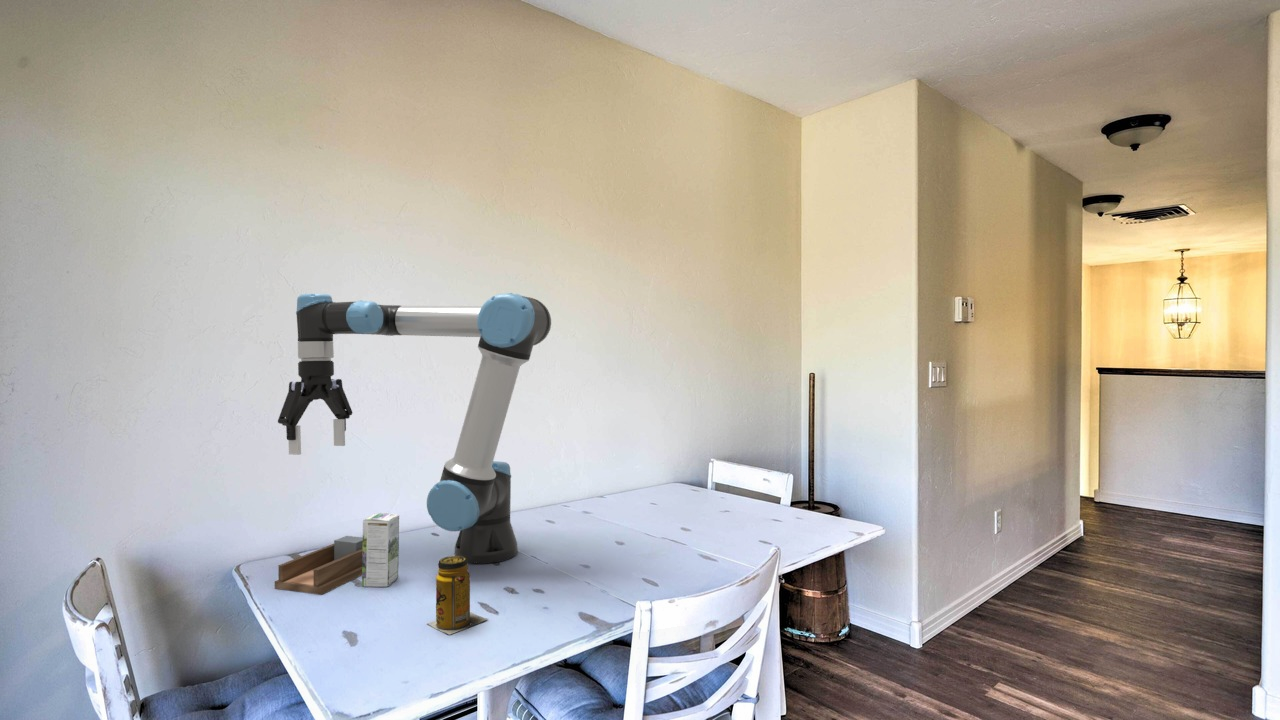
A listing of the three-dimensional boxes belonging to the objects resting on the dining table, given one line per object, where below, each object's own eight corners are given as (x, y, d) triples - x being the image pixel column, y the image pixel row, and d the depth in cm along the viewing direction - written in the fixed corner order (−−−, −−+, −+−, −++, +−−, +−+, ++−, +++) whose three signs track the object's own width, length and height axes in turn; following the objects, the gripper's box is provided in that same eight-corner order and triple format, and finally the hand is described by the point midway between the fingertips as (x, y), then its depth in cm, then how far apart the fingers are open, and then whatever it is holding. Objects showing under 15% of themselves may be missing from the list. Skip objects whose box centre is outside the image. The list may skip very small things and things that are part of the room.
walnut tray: (382, 565, 151) (382, 544, 151) (321, 594, 133) (321, 570, 133) (339, 560, 155) (339, 539, 155) (274, 588, 137) (274, 564, 136)
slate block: (368, 559, 151) (368, 538, 151) (356, 564, 147) (356, 542, 147) (346, 556, 153) (346, 535, 153) (334, 562, 149) (334, 540, 149)
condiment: (426, 624, 120) (426, 560, 119) (465, 610, 126) (465, 549, 126) (449, 636, 115) (449, 568, 115) (488, 620, 121) (488, 557, 121)
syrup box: (373, 577, 143) (373, 512, 143) (399, 578, 143) (399, 512, 143) (361, 587, 138) (361, 519, 137) (388, 587, 137) (388, 519, 137)
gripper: (341, 359, 165) (343, 441, 166) (258, 361, 142) (260, 457, 142) (366, 358, 163) (368, 442, 164) (285, 360, 139) (287, 458, 140)
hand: (318, 449), depth 153 cm, fingers open, 13 cm apart
